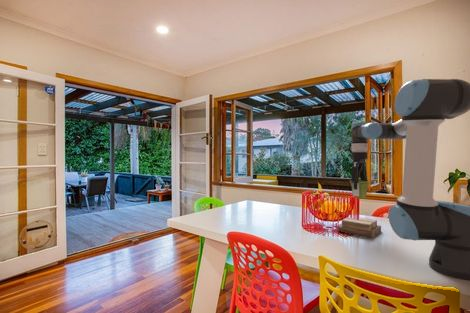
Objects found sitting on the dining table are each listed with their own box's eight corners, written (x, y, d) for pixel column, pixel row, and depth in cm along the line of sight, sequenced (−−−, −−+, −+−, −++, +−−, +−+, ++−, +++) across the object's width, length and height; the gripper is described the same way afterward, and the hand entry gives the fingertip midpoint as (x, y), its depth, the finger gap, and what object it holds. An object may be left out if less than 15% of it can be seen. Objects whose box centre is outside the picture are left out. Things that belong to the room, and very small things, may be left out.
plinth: (371, 238, 121) (371, 226, 121) (337, 231, 132) (337, 220, 132) (381, 231, 133) (381, 220, 133) (349, 225, 144) (349, 215, 144)
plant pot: (370, 197, 134) (370, 180, 134) (369, 199, 126) (369, 182, 126) (350, 195, 139) (350, 180, 139) (348, 198, 131) (348, 181, 131)
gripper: (359, 151, 122) (359, 198, 122) (373, 151, 138) (373, 193, 138) (343, 151, 127) (343, 196, 127) (359, 152, 143) (359, 191, 143)
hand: (359, 194), depth 132 cm, fingers closed on plant pot, 9 cm apart
